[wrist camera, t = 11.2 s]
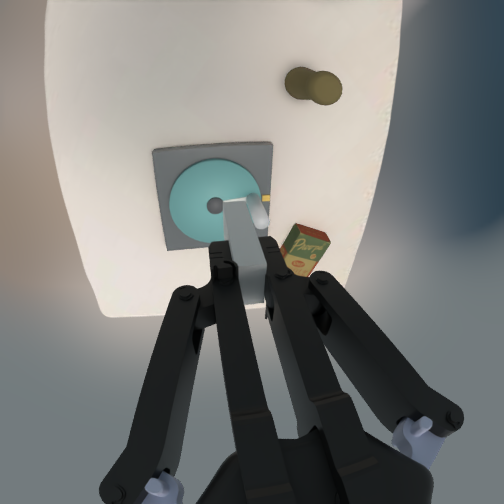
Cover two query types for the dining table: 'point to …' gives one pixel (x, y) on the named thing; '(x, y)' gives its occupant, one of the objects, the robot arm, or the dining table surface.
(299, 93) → the cork
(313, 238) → the carton
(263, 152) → the base plate
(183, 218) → the dial
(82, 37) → the dining table surface
